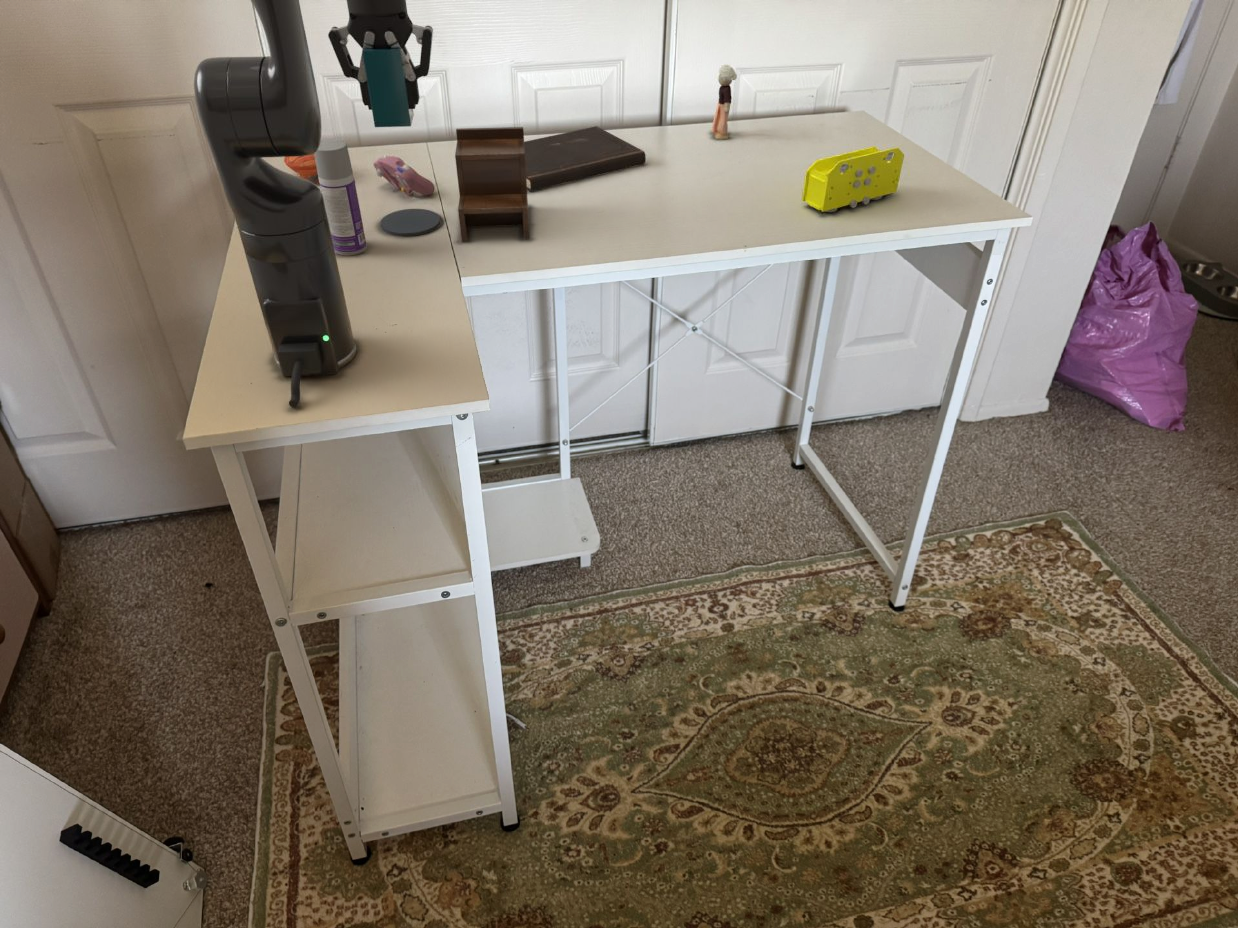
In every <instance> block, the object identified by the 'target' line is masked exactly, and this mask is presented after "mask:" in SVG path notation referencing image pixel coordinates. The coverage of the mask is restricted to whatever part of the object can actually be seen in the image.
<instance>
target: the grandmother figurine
mask: <svg viewBox="0 0 1238 928" xmlns="http://www.w3.org/2000/svg"><path fill="white" fill-rule="evenodd" d="M718 74H719V75H718V77H717V80H718V83H719V85H720V86H719V89H718V101H717V106H716V110H715V113H714V118H713V121H712V124H711V125H712V126H711V131H710V132H711V134H713V135H714V139H716V140H728V139H730V135H729V134H728V131H729V127H728V118H729V115H730V111H731V103H732V87H731V84H732V82H733V81H736V79H738V78H737V75H738V74H737V73H736V71H735V69H734V68H733V67H732V66H731V65H729V64H722V65H720V67H719V70H718Z"/></svg>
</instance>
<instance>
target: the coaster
mask: <svg viewBox="0 0 1238 928" xmlns="http://www.w3.org/2000/svg"><path fill="white" fill-rule="evenodd" d="M441 223H442V221H441V216H440V215H439V214H438V213H437V212H435V211H433V210H430V209H426V208H425V209H424V208H405V209H399V210H396V211H393V212H390V213H388V214H386V215H385V216H383V218H382V219H381V220H380V228H381V229H382V231H384V232H385V233H387V234H389V235H392V236H396V237H397V236H398V237H416V236H421V235H425V234H428V233H431V232H432V231H435V230H436V229H437V228H439V226H441Z"/></svg>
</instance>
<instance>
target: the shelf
mask: <svg viewBox="0 0 1238 928" xmlns="http://www.w3.org/2000/svg"><path fill="white" fill-rule="evenodd" d="M455 133H456V134H455V135H456V145H455V154H454V157H455V158H454V159H455V167H456V176H457V184H458V185H457V186H458V194H459V198H458V206H457V212H458V222H459V228H460V239H461V242H468V236H469V228H479V227H480V228H481V227H511V226H512V227H513V226H522V229H523V239H524V240H530V220H529V219H530V218H529V198H528V190H527V180H526V163H525V147H524V142H525V134H524V127H523V126H508V127H467V128H466V127H463V128H456V129H455Z"/></svg>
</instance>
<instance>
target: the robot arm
mask: <svg viewBox="0 0 1238 928" xmlns="http://www.w3.org/2000/svg"><path fill="white" fill-rule="evenodd" d="M250 2H251V3H252V5H253V7H254V9H255V11H256V13H257V15H258V18H259V20H260V23H261V25H262V28H263V31H264V35H265V37H266V40H267V44H268V49H269V52H270V55H269V56H219V57H209V58H205V59H202V60H201V61H200V62H199V63H198V65H197V67H196V69H195V72H194V78H193V79H194V80H193V89H194V99H195V105H196V109H197V113H198V117H199V120H200V124H201V126H202V129H203V133H204V136H205V138H206V141H207V144H208V147H209V150H210V153H211V155H212V158H213V161H214V164H215V167H216V170H217V172H218V176H219V179H220V182H221V185H222V188H223V191H224V194H225V197H226V199H227V203H228V205H229V207H230V209H231V212H232V213H233V216H234V219H235V223H236V226H237V229H238V233H239V237H240V240H241V244H242V247H243V250H244V251H243V252H244V254H245V257H246V261H247V266H248V268H249V272H250V276H251V279H252V283H253V285H254V290H255V294H256V297H257V300H258V303H259V307H260V310H261V314H262V317H263V321H264V325H265V328H266V332H267V335H268V338H269V341H270V342H269V343H270V345H271V349H272V352H273V358H274V359H273V360H274V362H275V364H276V366H277V367H278V369H280V371H281V376H282V377H291V380H290V381H291V382H290V400H289V401H288V405H289V406H290V407H291V408H297V407H298V406H299V404H300V402H301V380H302V376H303V377H304V376H322V375H323V376H324V375H336V374H337V373H338V372H339V369H340V368H342V367H344V366H346V365H347V364H348V363H349V362H351V361H352V360H353V359H354V358H355V356H356V354H357V350H358V349H357V348H358V347H357V344H356V343H357V342H356V339H355V338H354V334H353V330H352V324H351V320H350V315H349V311H348V307H347V302H346V297H345V292H344V288H343V283H342V279H341V274H340V270H339V265H338V260H337V255H336V252H335V250H334V246H333V241H332V236H331V231H330V227H329V222H328V217H327V213H326V208H325V204H324V199H323V196H322V192H321V188H320V187H318V186H317V184H315V183H314V182H312V181H311V180H309V179H308V180H306V179H304V178H301V177H300V176H298V175H294V174H292V173H288V172H286V171H284V170H281V169H279V168H277V167H275V166H274V165H273V164H271V163H269V162H268V161H267V160H265V158H285V157H296V156H308V155H312V154H314V153H315V152H316V151H317V150H318V148H319V145H320V141H322V116H321V115H322V113H321V107H320V100H319V95H318V89H317V84H316V78H315V74H314V68H313V63H312V59H311V55H310V54H311V53H310V48H309V43H308V39H307V34H306V30H305V24H304V20H303V13H302V8H301V3H300V0H250ZM346 5H347V11H348V22H347V25H344V26H340V27H337V26H332V27H331V28H330V30H329V32H328V35H327V37H328V39H329V41H330V44H331V47H332V48H333V51H334V54H335V56H336V58H337V61H338V64H339V66H340V68H341V71H342V74H343V75H344V77H345V78H347V79H348V78H352V79H355V80H356V81H358V84H359V88H360V89H359V90H360V94H361V100H362V103H363V105H364V106H367V108H368V110H369V111H372V107H371V101H370V95H369V90H368V84H367V78H366V72H365V66H364V60H363V54H362V53H361V56H360V62H359V66H356V65H355V64H354V62H353V59H352V57H351V55H350V51H349V49H348V46H347V44H348V43H349V35H350V36H351V38H353V40H354V41H355V43H357V45H358V46H359V47H360V48H361V50H363V49H396V48H401V54H402V61H403V65H404V71H405V75H406V77H407V81H406V85H407V92H408V99H409V106H410V109H413V110H415V109H416V105H419V102H420V90H419V83H418V79H420V78H422V77H427V76H428V75H429V71H430V67H431V66H430V65H431V55H432V45H433V35H434V29H433V27H432V25H425V26H422V25H418V24H414V23H413V21H412V20H411V18H410V16H409V13H408V6H407V0H346ZM412 34H413V35H414V36H415V39H416V43H417V44H418V45H421V47H420V48H421V49H420V57H419V64H417V65H415V64H414V62H413V60H412V58H411V55H410V53H409V51H408V48H407V46H406V45H407V43H408V41H409V39H410V37H411V35H412ZM403 48H404V52H403ZM263 158H264V159H263Z"/></svg>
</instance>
